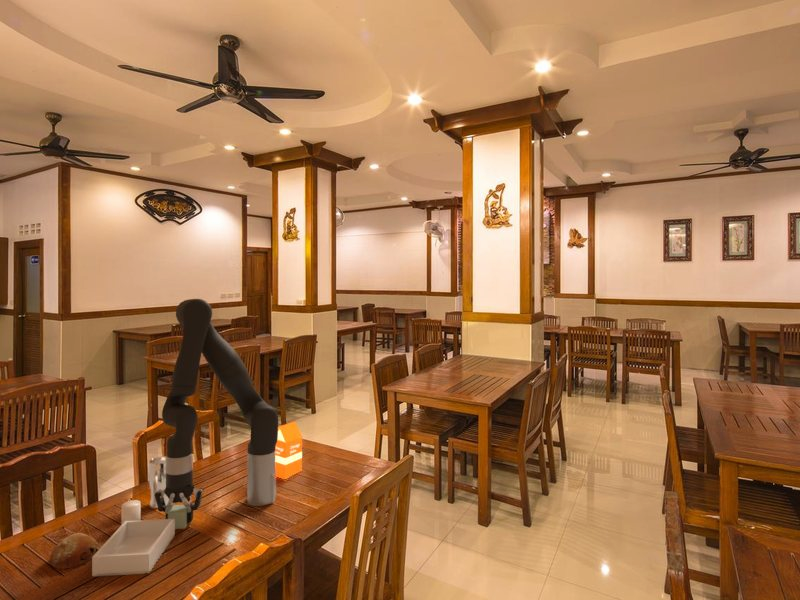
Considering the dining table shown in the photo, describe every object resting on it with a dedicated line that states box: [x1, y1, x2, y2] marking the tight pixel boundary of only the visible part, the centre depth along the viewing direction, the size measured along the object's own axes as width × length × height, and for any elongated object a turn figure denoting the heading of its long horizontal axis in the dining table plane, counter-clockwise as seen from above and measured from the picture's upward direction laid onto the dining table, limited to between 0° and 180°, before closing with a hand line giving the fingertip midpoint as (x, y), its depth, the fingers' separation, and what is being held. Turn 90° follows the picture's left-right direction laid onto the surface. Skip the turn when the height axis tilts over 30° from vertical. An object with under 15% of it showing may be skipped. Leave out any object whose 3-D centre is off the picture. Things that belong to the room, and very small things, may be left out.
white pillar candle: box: [120, 499, 142, 526], centre depth 138 cm, size 5×5×7 cm
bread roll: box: [49, 532, 100, 570], centre depth 122 cm, size 10×10×8 cm
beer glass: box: [147, 455, 169, 509], centre depth 152 cm, size 7×7×15 cm
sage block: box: [168, 504, 189, 530], centre depth 139 cm, size 5×5×5 cm
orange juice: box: [275, 421, 303, 480], centre depth 177 cm, size 8×9×20 cm
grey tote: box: [91, 518, 176, 577], centre depth 124 cm, size 14×18×5 cm
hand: (179, 522), depth 139 cm, fingers closed on sage block, 5 cm apart
